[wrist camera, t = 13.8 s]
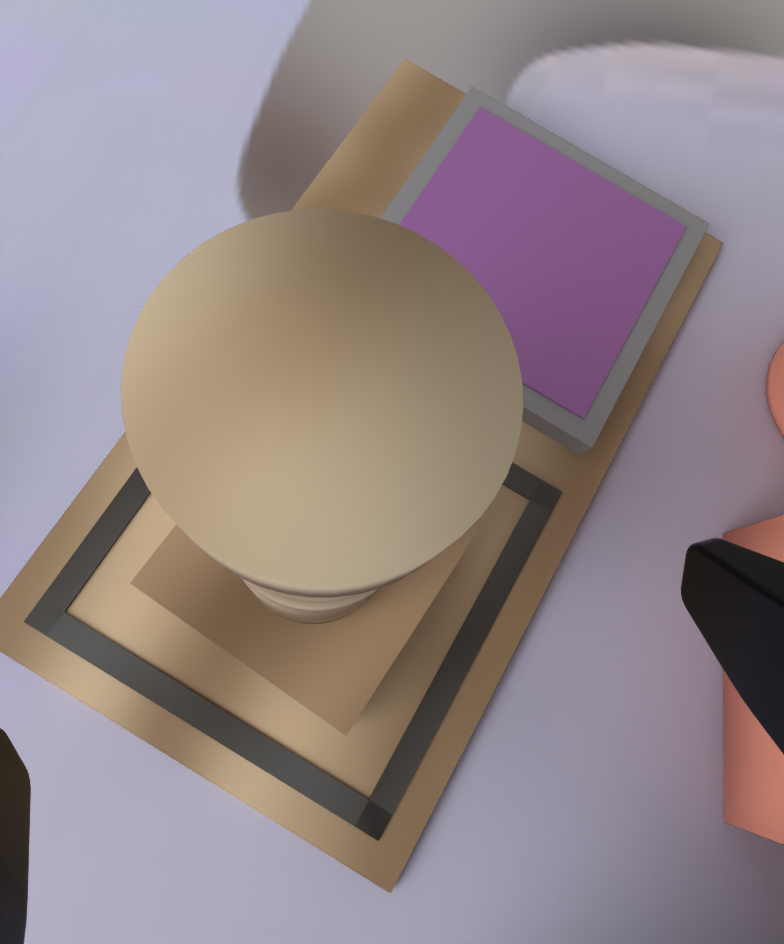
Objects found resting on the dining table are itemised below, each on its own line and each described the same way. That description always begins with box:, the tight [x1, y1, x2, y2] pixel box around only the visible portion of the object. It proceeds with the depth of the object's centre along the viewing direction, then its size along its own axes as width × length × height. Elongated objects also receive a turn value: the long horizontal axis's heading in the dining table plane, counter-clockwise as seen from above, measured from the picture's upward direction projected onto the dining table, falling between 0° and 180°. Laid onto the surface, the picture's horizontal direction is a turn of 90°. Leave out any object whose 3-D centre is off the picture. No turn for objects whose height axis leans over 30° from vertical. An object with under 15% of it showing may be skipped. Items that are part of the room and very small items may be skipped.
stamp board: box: [0, 59, 723, 893], centre depth 24 cm, size 14×25×1 cm, turn 150°
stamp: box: [121, 209, 523, 735], centre depth 15 cm, size 7×7×15 cm
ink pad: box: [380, 87, 709, 456], centre depth 25 cm, size 10×10×1 cm
